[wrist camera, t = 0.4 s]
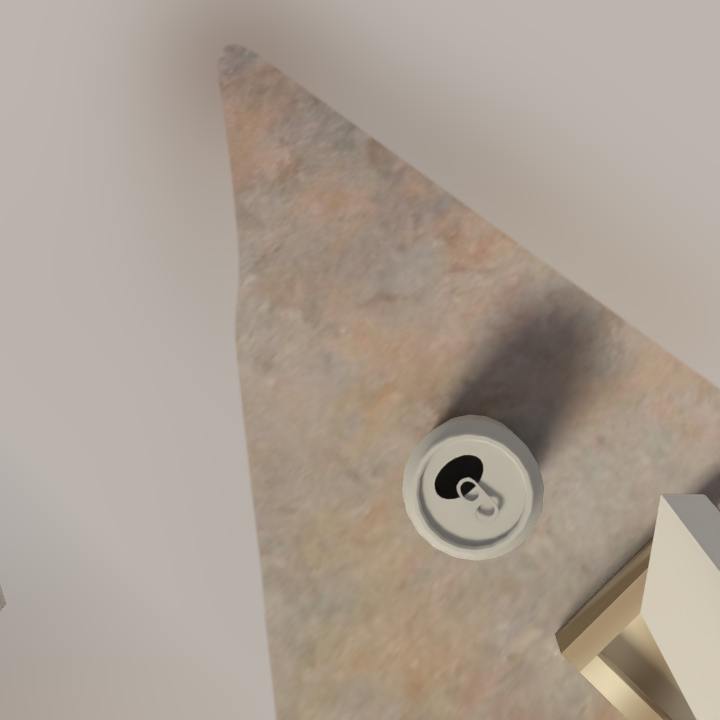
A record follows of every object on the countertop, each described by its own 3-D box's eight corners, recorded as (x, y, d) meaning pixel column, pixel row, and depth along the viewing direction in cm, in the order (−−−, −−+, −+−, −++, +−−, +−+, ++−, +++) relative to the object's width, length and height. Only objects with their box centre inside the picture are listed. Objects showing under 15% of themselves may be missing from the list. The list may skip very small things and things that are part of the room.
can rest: (866, 648, 36) (901, 671, 33) (714, 790, 37) (734, 824, 34) (692, 497, 38) (710, 505, 35) (555, 634, 39) (561, 653, 36)
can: (479, 392, 41) (480, 390, 30) (550, 476, 40) (581, 509, 28) (399, 457, 42) (369, 481, 31) (466, 542, 41) (461, 600, 29)
